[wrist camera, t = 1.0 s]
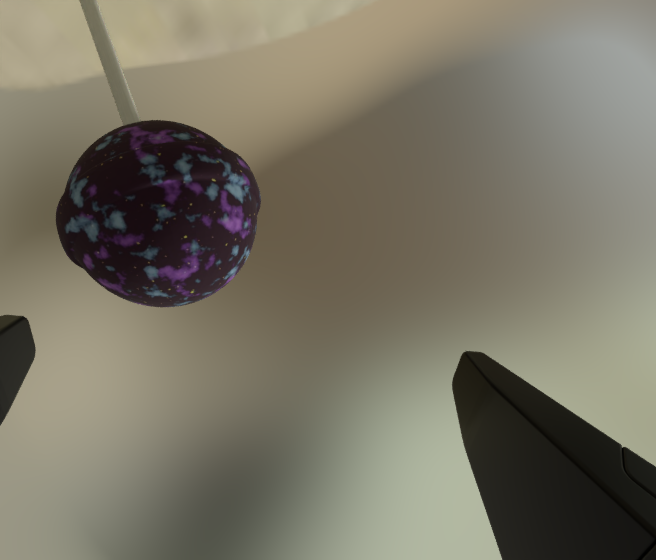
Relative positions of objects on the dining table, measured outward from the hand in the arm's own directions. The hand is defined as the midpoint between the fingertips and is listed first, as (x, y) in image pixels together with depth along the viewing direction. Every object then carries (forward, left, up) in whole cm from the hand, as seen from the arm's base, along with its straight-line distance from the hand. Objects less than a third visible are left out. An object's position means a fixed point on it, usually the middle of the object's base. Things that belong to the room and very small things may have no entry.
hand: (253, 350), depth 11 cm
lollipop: (+6, -1, -19) cm, 20 cm away
